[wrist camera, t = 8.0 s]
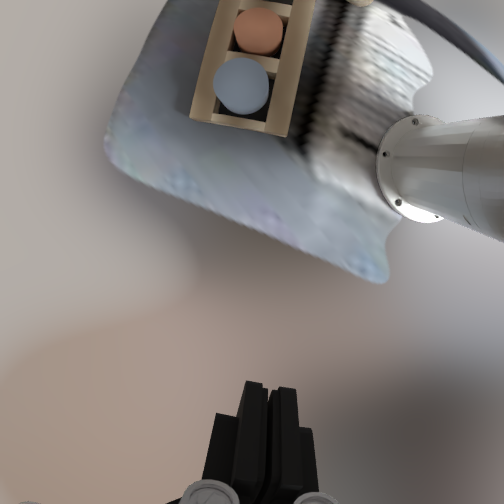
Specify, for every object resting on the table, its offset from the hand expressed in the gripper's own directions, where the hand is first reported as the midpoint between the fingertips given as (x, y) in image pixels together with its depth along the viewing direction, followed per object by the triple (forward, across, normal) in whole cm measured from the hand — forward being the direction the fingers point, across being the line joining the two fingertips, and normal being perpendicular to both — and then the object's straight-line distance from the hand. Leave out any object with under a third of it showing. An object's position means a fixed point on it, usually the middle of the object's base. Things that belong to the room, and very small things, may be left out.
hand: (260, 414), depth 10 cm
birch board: (+27, +6, -22) cm, 35 cm away
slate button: (+24, +6, -15) cm, 28 cm away
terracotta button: (+26, +6, -22) cm, 34 cm away
